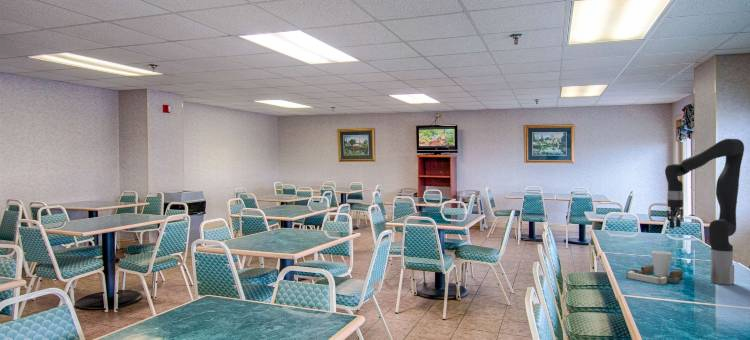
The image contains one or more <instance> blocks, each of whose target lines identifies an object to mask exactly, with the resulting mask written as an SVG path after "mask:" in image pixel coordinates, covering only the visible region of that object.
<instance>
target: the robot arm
mask: <svg viewBox="0 0 750 340" xmlns="http://www.w3.org/2000/svg"><path fill="white" fill-rule="evenodd" d="M744 152H745V145H744V143H743V141H742V140H741V139H739V138H723V139H721V140H719V141H718V142H716V143H715V144H713V145H712V146H709V147H708V148H706V149H705V150H702V151H701V152H699V153H696V154H694V155H691V156H689V157H687V158H685V159H683V160H682V161H681V162H680V163H671V164H670V163H669V164H668V165H666V167H665V169H664V171H665V178H666V181H667V207H668V208H670V209H667V212H666V214H667V217H666V219H667V221H669V229H675V227H676V228H681V226H682V225H681V221H682V220H683V219H684V209H683V207H684V193H683V190H684V189H683V188H684V187H683V185H684V184H683V182H682V181H681V180H679V178H678V177H681V176H685V175H687V174H688V173H690V172H691V171H694V170H697V169H699V168H701V167H703V166H704V165H706V164H707V163H709V162H710V161H712V160H714V159H718V158H722V157H725V162H724V167H723V169H722V171H721V172H720V174H719V176H718V178H717V181H716V187H715V196H716V200H717V203H718V205H719V217H718V219H713V220H712V221H711V222H710V223H709V225H708V239H709V240H708V242H709V245H710V282H711V283H714V284H719V285H727V286H730V285H733V284H735V264H734V262H733V261H734V256H733V255H734V247H733V246H734V245H732V244H731V243H730V241H729V240H730V239H729V237H731V236H733V235H734V234H735V233H736V231H737V204H738V197H739V196H738V195H739V187H740V186H739V185H740V184H739V183H740V175H741V165H742V161H743V157H744ZM733 264H734V265H733Z"/></svg>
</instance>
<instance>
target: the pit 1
mask: <svg viewBox="0 0 750 340" xmlns="http://www.w3.org/2000/svg"><path fill="white" fill-rule="evenodd" d="M629 271H635V273H637V274H642V275H643V271H641V269H640V270H638V269H634V268H632V269H628V270H627V272H629Z"/></svg>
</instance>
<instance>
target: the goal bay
mask: <svg viewBox="0 0 750 340" xmlns="http://www.w3.org/2000/svg"><path fill="white" fill-rule="evenodd" d="M625 277H626V279H627V278H628V279H631V280H636V281H642V282H645V283H646V282H647V283H651V284H655V285H664V284H668V283H667V277H658V276H652V275H648V274H646V275H642V274H637V273H635V271H629V272H628V271H626V273H625Z"/></svg>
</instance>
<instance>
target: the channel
mask: <svg viewBox="0 0 750 340" xmlns="http://www.w3.org/2000/svg"><path fill="white" fill-rule="evenodd" d="M640 271H643V275H648V274H653V273H654V266H653V264H647V265H643V266H641V267H640ZM669 276H672V277H678V278H680V279H682V278H683V269H676V270H673V271H672V270H671V271H669Z"/></svg>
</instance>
